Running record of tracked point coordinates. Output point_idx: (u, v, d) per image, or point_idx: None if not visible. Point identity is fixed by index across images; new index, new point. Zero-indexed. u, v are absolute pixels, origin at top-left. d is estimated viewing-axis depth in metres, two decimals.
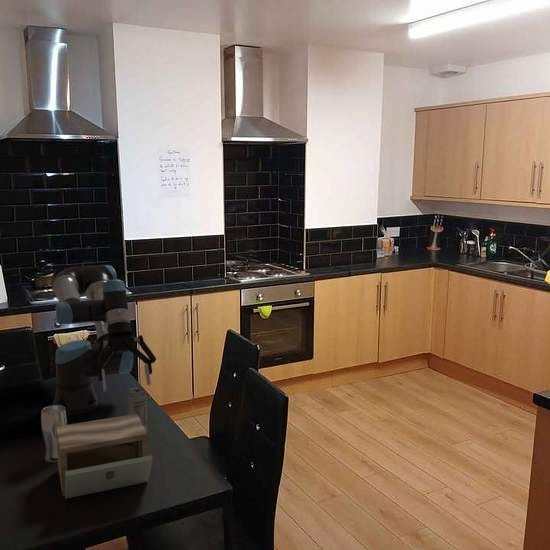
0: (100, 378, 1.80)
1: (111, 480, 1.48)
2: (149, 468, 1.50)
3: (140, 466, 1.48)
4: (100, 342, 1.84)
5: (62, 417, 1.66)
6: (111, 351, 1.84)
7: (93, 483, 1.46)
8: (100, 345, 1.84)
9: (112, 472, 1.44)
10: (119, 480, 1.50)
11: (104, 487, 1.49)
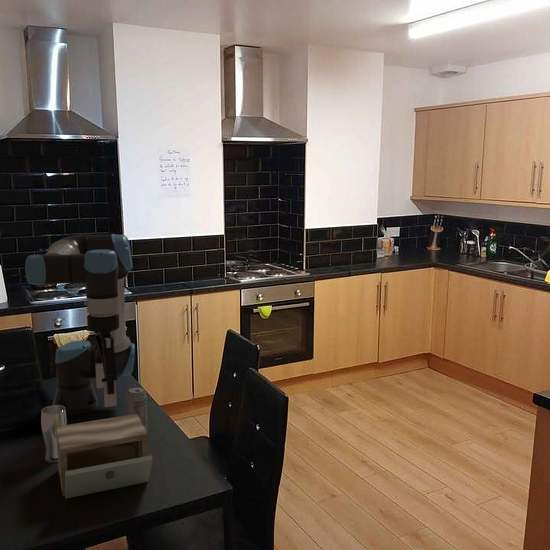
0: None
1: (111, 480, 1.48)
2: (149, 468, 1.50)
3: (140, 466, 1.48)
4: None
5: (62, 417, 1.66)
6: None
7: (93, 483, 1.46)
8: (95, 334, 1.48)
9: (112, 472, 1.44)
10: (119, 480, 1.50)
11: (104, 487, 1.49)
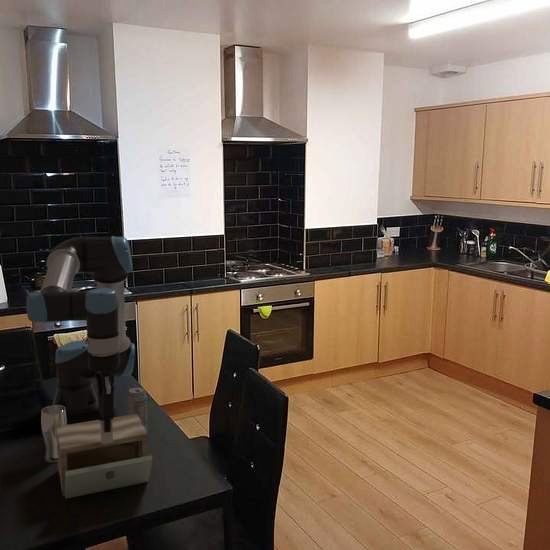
0: None
1: (111, 480, 1.48)
2: (149, 468, 1.50)
3: (140, 466, 1.48)
4: None
5: (62, 417, 1.66)
6: (98, 390, 1.44)
7: (93, 483, 1.46)
8: None
9: (112, 472, 1.44)
10: (119, 480, 1.50)
11: (104, 487, 1.49)
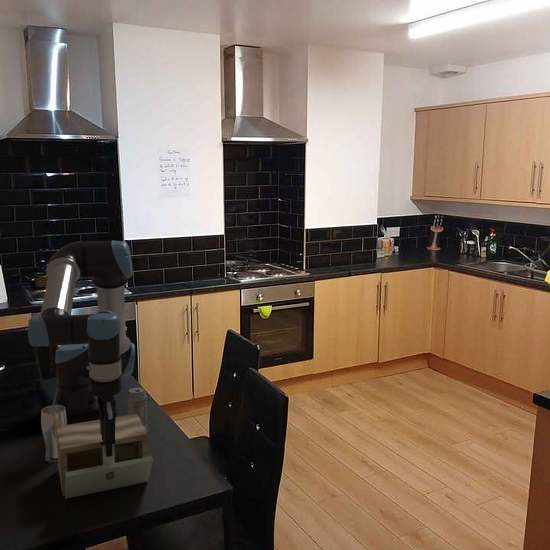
0: None
1: (111, 480, 1.48)
2: (149, 469, 1.50)
3: (140, 467, 1.48)
4: None
5: (62, 417, 1.66)
6: (100, 414, 1.44)
7: (93, 483, 1.46)
8: None
9: (112, 473, 1.44)
10: (119, 481, 1.49)
11: (104, 487, 1.49)
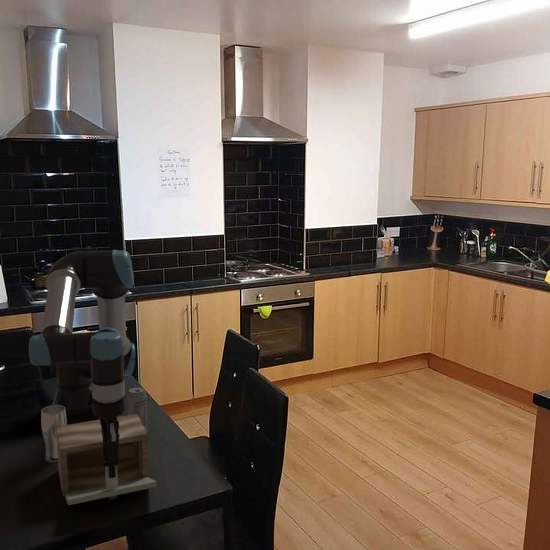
0: None
1: None
2: None
3: None
4: None
5: (62, 417, 1.66)
6: (103, 435, 1.41)
7: None
8: None
9: (114, 495, 1.42)
10: None
11: None
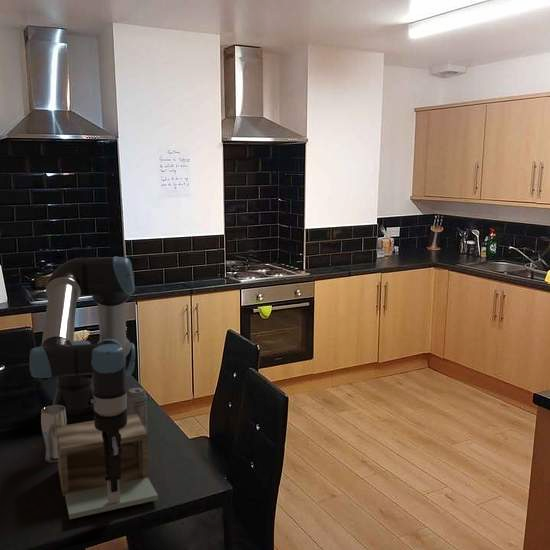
0: None
1: None
2: None
3: None
4: None
5: (62, 417, 1.66)
6: (104, 448, 1.39)
7: None
8: None
9: None
10: None
11: None
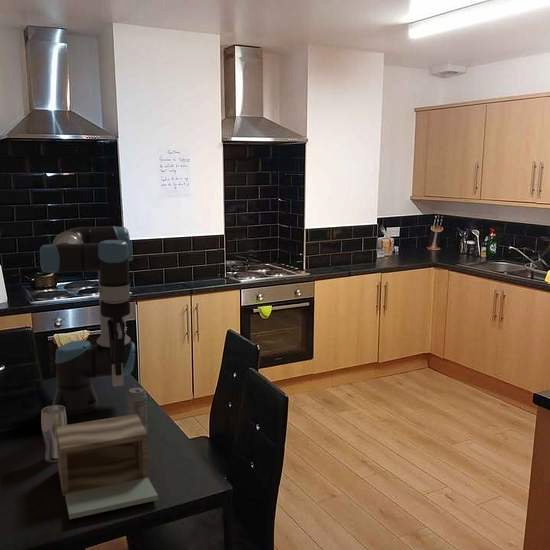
0: None
1: None
2: None
3: None
4: None
5: (62, 417, 1.66)
6: (110, 336, 1.53)
7: None
8: None
9: None
10: None
11: None
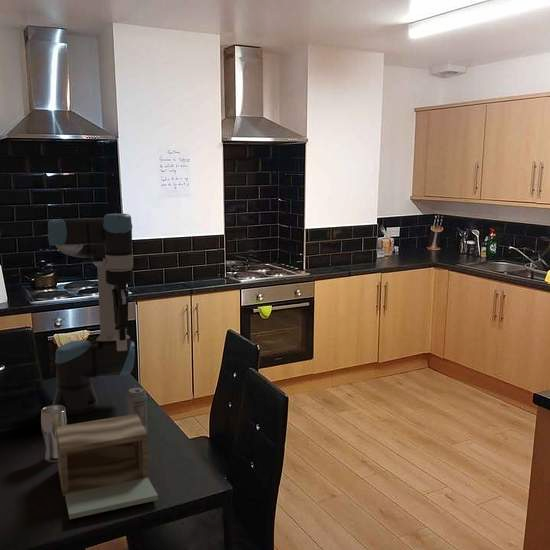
0: None
1: None
2: None
3: None
4: None
5: (62, 417, 1.66)
6: (114, 303, 1.64)
7: None
8: None
9: None
10: None
11: None
